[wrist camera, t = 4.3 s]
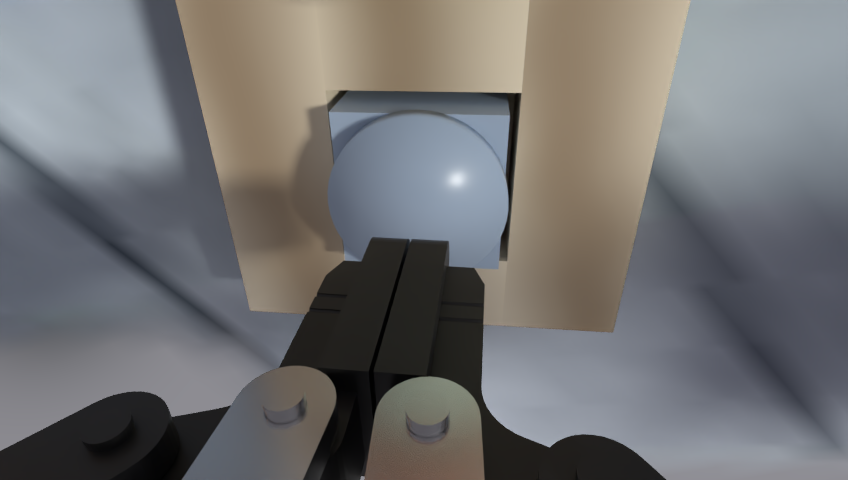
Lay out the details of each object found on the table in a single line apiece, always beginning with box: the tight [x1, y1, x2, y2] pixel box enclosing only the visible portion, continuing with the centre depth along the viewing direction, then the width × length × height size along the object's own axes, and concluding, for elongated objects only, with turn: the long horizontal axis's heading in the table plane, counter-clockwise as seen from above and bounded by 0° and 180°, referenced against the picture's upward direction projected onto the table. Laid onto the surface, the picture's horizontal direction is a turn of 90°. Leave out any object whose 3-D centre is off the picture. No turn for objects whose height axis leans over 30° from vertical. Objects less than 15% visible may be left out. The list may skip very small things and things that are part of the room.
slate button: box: [328, 90, 510, 269], centre depth 14 cm, size 5×5×3 cm
